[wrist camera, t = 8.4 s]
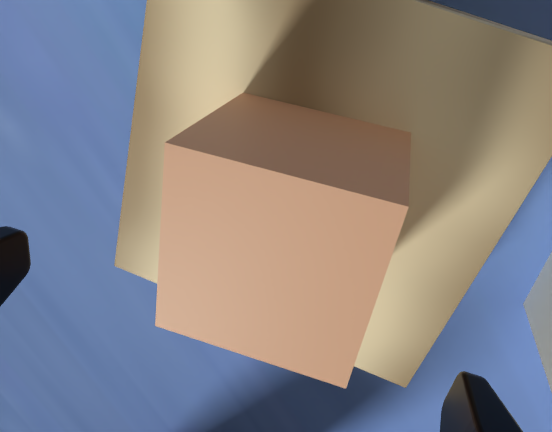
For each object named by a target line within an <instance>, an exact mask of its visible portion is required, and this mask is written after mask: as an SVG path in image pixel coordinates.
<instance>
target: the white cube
mask: <svg viewBox="0 0 552 432" xmlns="http://www.w3.org/2000/svg"><path fill="white" fill-rule="evenodd" d="M523 305H524V308H525V311H526V314H527V317H528V320H529V323H530V327H531V330H532V333H533V336H534V339H535V342H536V345H537V348H538V351H539V354H540V358H541V361H542V364H543V367H544V370H545V373H546V376H547V379H548V382H549V385H550V389H551V392H552V252H551V254H550V256H549V258H548V259H547V261H546V263H545V265H544V267H543V269H542V270H541V272H540V274H539V276H538V278H537V280H536V281H535V283H534V285H533V287H532V289H531V291H530V292H529V294H528V296H527V298H526V300H525V302H524V303H523Z"/></svg>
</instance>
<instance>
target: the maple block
mask: <svg viewBox="0 0 552 432" xmlns="http://www.w3.org/2000/svg"><path fill="white" fill-rule="evenodd" d="M242 93H247V94H252V95H256V96H260V97H264V98H268V99H272V100H277V101H281V102H285V103H289V104H293V105H298V106H302V107H306V108H310V109H314V110H318V111H323V112H327V113H331V114H335V115H339V116H344V117H348V118H352V119H356V120H360V121H364V122H369V123H373V124H377V125H381V126H385V127H389V128H394V129H398V130H402V131H406V132H410V133H411V149H410V182H409V208H408V210H407V213H406V216H405V219H404V222H403V225H402V228H401V231H400V234H399V237H398V239H397V242H396V245H395V248H394V251H393V254H392V257H391V260H390V263H389V266H388V268H387V271H386V274H385V277H384V280H383V283H382V286H381V289H380V292H379V295H378V297H377V300H376V303H375V306H374V309H373V312H372V315H371V318H370V321H369V323H368V326H367V329H366V332H365V335H364V338H363V341H362V344H361V347H360V350H359V352H358V355H357V358H356V361H355V364H354V366H355V367H357V368H359V369H362V370H364V371H367V372H369V373H371V374H374V375H376V376H378V377H381V378H383V379H386V380H388V381H390V382H393V383H395V384H398V385H400V386H402V387H405V388H406V387H407V385H408V383H409V382H410V380H411V379H412V377H413V376H414V374H415V372H416V371H417V369H418V368H419V366H420V364H421V363H422V361H423V360H424V358H425V356H426V355H427V353H428V352H429V350H430V349H431V347H432V345H433V344H434V342H435V341H436V339H437V337H438V336H439V334H440V333H441V331H442V330H443V328H444V326H445V325H446V323H447V322H448V320H449V318H450V317H451V315H452V314H453V312H454V310H455V309H456V307H457V306H458V304H459V303H460V301H461V299H462V298H463V296H464V295H465V293H466V291H467V290H468V288H469V287H470V285H471V284H472V282H473V280H474V279H475V277H476V276H477V274H478V272H479V271H480V269H481V268H482V266H483V265H484V263H485V261H486V260H487V258H488V257H489V255H490V253H491V252H492V250H493V249H494V247H495V245H496V244H497V242H498V241H499V239H500V238H501V236H502V234H503V233H504V231H505V230H506V228H507V226H508V225H509V223H510V222H511V220H512V219H513V217H514V215H515V214H516V212H517V211H518V209H519V207H520V206H521V204H522V203H523V201H524V200H525V198H526V196H527V195H528V193H529V192H530V190H531V188H532V187H533V185H534V184H535V182H536V180H537V179H538V177H539V176H540V174H541V173H542V171H543V169H544V168H545V166H546V165H547V163H548V161H549V160H550V158H551V157H552V41H551V40H548V39H545V38H542V37H539V36H536V35H533V34H530V33H527V32H524V31H521V30H518V29H515V28H511V27H508V26H505V25H502V24H499V23H496V22H493V21H490V20H487V19H484V18H481V17H478V16H475V15H472V14H469V13H466V12H462V11H459V10H456V9H453V8H450V7H447V6H444V5H441V4H438V3H435V2H432V1H429V0H147V5H146V13H145V21H144V29H143V37H142V45H141V53H140V61H139V70H138V78H137V86H136V94H135V102H134V110H133V118H132V127H131V135H130V143H129V151H128V159H127V167H126V175H125V183H124V192H123V200H122V208H121V216H120V224H119V232H118V240H117V249H116V257H115V265H114V266H116V267H119V268H121V269H124V270H126V271H128V272H131V273H133V274H135V275H138V276H140V277H143V278H145V279H147V280H150V281H152V282H155V283H158V263H159V244H160V224H161V205H162V185H163V166H164V146H165V142H166V141H168V140H169V139H171V138H173V137H174V136H176V135H177V134H179V133H180V132H182V131H183V130H185V129H187V128H188V127H190V126H191V125H193V124H194V123H196V122H198V121H199V120H201V119H202V118H204V117H205V116H207V115H209V114H210V113H212V112H213V111H215V110H216V109H218V108H220V107H221V106H223V105H224V104H226V103H227V102H229V101H231V100H232V99H234V98H235V97H237V96H238V95H240V94H242Z"/></svg>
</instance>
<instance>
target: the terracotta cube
mask: <svg viewBox="0 0 552 432" xmlns="http://www.w3.org/2000/svg"><path fill="white" fill-rule="evenodd" d="M410 149H411V133H410V132H406V131H402V130H398V129H394V128H389V127H385V126H381V125H377V124H373V123H369V122H364V121H360V120H356V119H352V118H348V117H344V116H339V115H335V114H331V113H327V112H323V111H318V110H314V109H310V108H306V107H302V106H298V105H293V104H289V103H285V102H281V101H277V100H272V99H268V98H264V97H260V96H256V95H252V94H247V93H242V94H240V95H238V96H237V97H235V98H234V99H232V100H231V101H229V102H227V103H226V104H224V105H223V106H221V107H220V108H218V109H216V110H215V111H213V112H212V113H210V114H209V115H207V116H205V117H204V118H202V119H201V120H199V121H198V122H196V123H194V124H193V125H191V126H190V127H188V128H187V129H185V130H183V131H182V132H180V133H179V134H177V135H176V136H174V137H173V138H171V139H169V140H168V141H166V142H165V146H164V166H163V185H162V205H161V224H160V244H159V263H158V283H157V302H156V322H155V326H157V327H160V328H163V329H166V330H169V331H173V332H176V333H179V334H182V335H185V336H188V337H191V338H194V339H197V340H200V341H203V342H206V343H209V344H212V345H215V346H218V347H221V348H224V349H227V350H230V351H233V352H236V353H239V354H242V355H245V356H248V357H251V358H254V359H257V360H260V361H263V362H266V363H269V364H272V365H275V366H278V367H282V368H285V369H288V370H291V371H294V372H297V373H300V374H303V375H306V376H309V377H312V378H315V379H318V380H321V381H324V382H327V383H330V384H333V385H336V386H339V387H342V388H345V389H346V387H347V384H348V381H349V379H350V376H351V373H352V370H353V367H354V364H355V361H356V358H357V355H358V352H359V350H360V347H361V344H362V341H363V338H364V335H365V332H366V329H367V326H368V323H369V321H370V318H371V315H372V312H373V309H374V306H375V303H376V300H377V297H378V295H379V292H380V289H381V286H382V283H383V280H384V277H385V274H386V271H387V268H388V266H389V263H390V260H391V257H392V254H393V251H394V248H395V245H396V242H397V239H398V237H399V234H400V231H401V228H402V225H403V222H404V219H405V216H406V213H407V210H408V208H409V182H410Z"/></svg>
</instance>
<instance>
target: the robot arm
mask: <svg viewBox="0 0 552 432" xmlns="http://www.w3.org/2000/svg"><path fill="white" fill-rule="evenodd" d="M30 264H31V262H30V252H29V243H28V236H27V235H26V233H25V232H24V231H21V230H18V229H15V228H12V227H8V226H5V227H0V306H1V305H2V304H3V303H4V301H5V300H6V299H7V298H8V297H9V295H10V294H11V293H12V292H13V291H14V289H15V288H16V287H17V286H18V285H19V283H20V282H21V281H22V280H23V279H24V277H25V276H26V275H27V273H28V271H29V269H30ZM440 432H523V431H522V429H521V428H520V427H519V425H518V424H517V422H516V421H515V420H514V418H513V417H512V415H511V414H510V413H509V411H508V410H507V408H506V407H505V406H504V404H503V403H502V401H501V400H500V399H499V397H498V396H497V394H496V393H495V391H494V390H493V389H492V387H491V386H490V384H489V383H488V382H487V380H486V379H484V378H483V377H481V376H478V375H475V374H472V373H468V372H465V371H463V372H460V373H459V374H458V375H457V377H456V379H455V381H454V383H453V385H452V387H451V388H450V390H449V392H448V394H447V396H446V398H445V400H444V403H443V406H442V411H441V424H440Z"/></svg>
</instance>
